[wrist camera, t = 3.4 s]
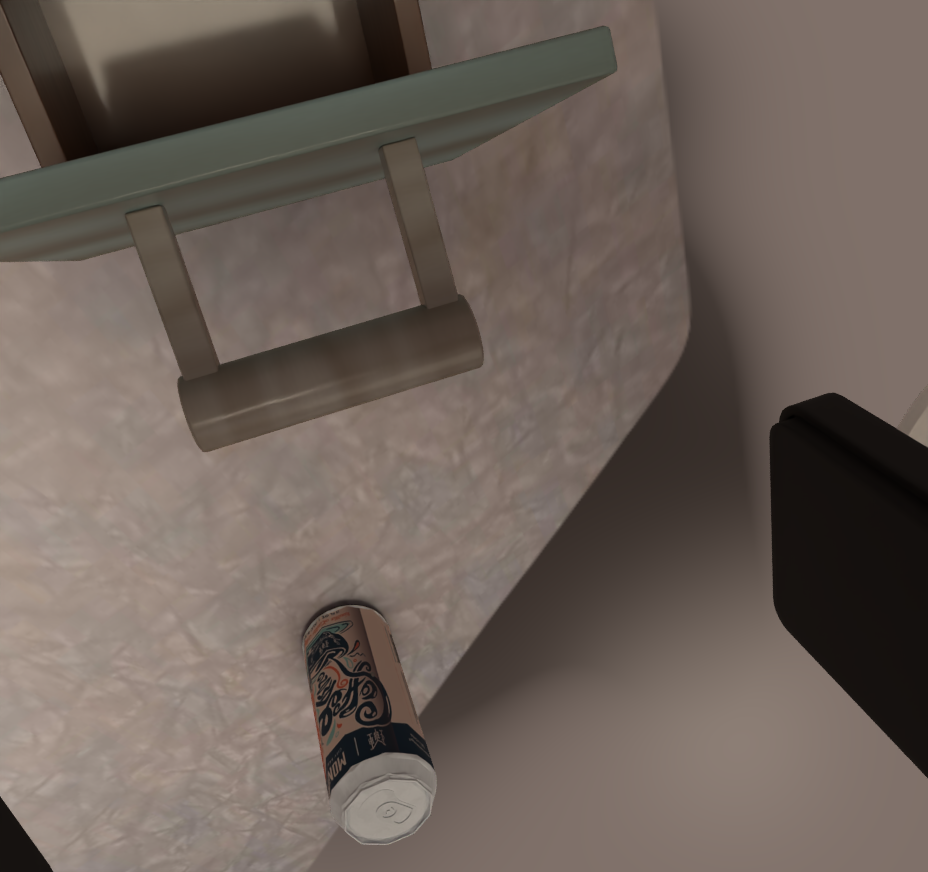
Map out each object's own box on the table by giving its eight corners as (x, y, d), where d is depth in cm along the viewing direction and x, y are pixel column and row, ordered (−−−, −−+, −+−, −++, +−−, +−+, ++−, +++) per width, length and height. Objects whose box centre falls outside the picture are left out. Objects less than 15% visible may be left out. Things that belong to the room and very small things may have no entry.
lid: (-146, 213, 13) (0, 544, 14) (610, 23, 15) (674, 331, 16) (68, 236, 27) (132, 404, 28) (447, 135, 29) (490, 297, 30)
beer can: (335, 586, 45) (377, 757, 35) (405, 619, 48) (464, 789, 37) (283, 651, 46) (310, 837, 36) (354, 680, 48) (398, 863, 38)
